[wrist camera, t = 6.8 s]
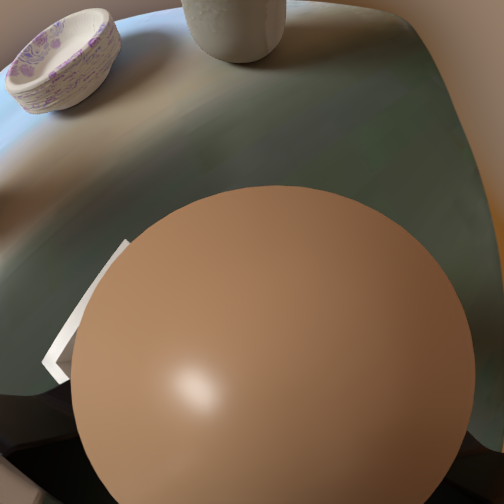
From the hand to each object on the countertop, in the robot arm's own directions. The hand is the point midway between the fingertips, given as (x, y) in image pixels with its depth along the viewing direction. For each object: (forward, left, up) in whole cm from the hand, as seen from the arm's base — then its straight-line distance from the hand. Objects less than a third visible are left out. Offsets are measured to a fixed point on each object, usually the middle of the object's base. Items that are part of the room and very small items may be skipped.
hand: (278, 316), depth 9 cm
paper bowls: (+37, -9, -14) cm, 41 cm away
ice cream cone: (-1, +1, -7) cm, 7 cm away
